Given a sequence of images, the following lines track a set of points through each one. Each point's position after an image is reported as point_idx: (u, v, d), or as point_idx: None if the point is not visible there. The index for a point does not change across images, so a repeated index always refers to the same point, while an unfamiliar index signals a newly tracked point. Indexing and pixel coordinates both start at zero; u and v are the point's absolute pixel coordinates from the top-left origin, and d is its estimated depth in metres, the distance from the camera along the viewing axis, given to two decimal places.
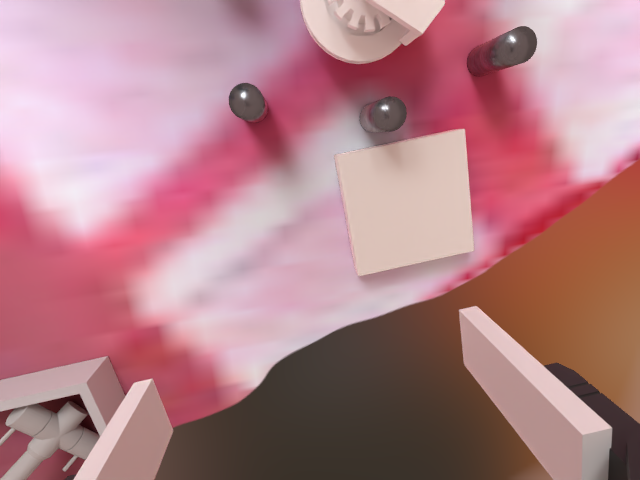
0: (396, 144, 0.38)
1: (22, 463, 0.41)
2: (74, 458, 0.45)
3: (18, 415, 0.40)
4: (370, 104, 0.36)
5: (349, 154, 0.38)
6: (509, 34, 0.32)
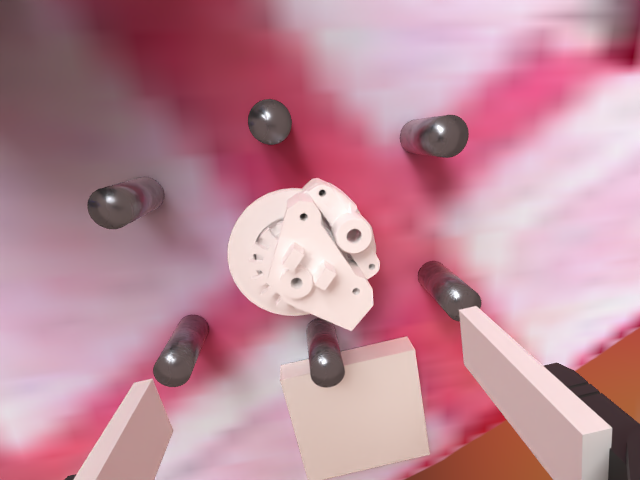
0: None
1: None
2: None
3: None
4: (313, 334, 0.35)
5: (293, 378, 0.36)
6: (451, 296, 0.30)
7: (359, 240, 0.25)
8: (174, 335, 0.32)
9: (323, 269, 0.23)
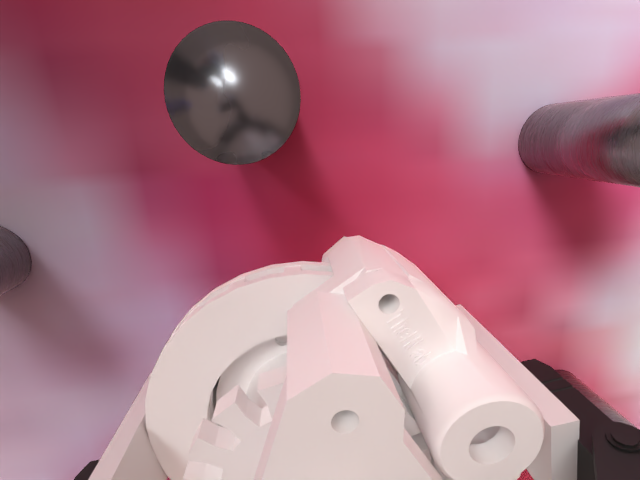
0: None
1: None
2: None
3: None
4: None
5: None
6: None
7: (501, 449, 0.09)
8: None
9: None
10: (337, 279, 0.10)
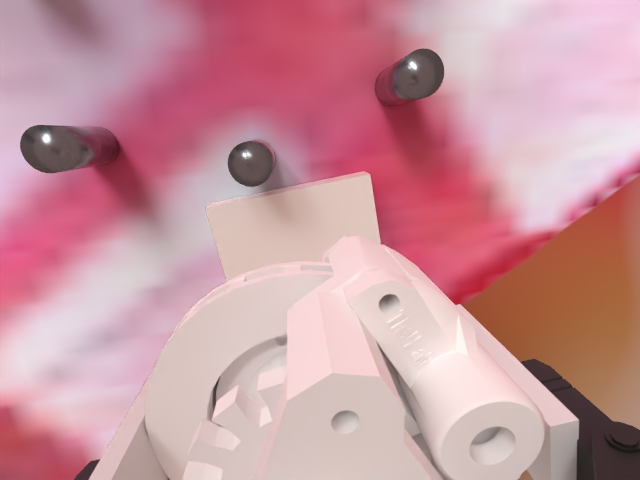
0: (282, 193, 0.30)
1: None
2: None
3: None
4: None
5: (221, 206, 0.30)
6: (405, 59, 0.23)
7: (502, 450, 0.09)
8: None
9: None
10: (337, 279, 0.10)
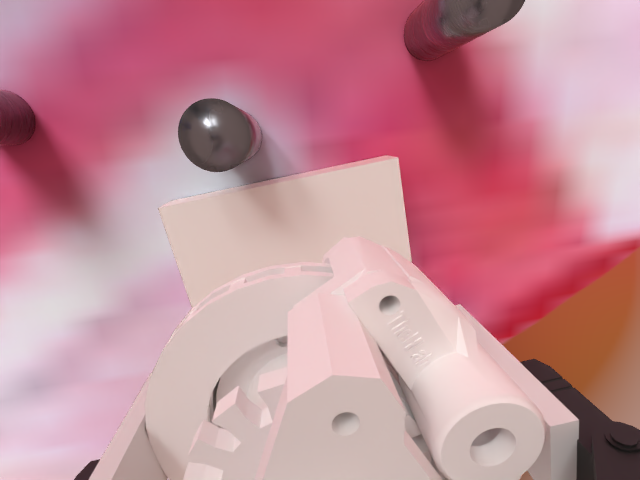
0: (270, 186, 0.20)
1: None
2: None
3: None
4: None
5: (182, 205, 0.20)
6: None
7: (502, 451, 0.09)
8: None
9: None
10: (338, 280, 0.10)
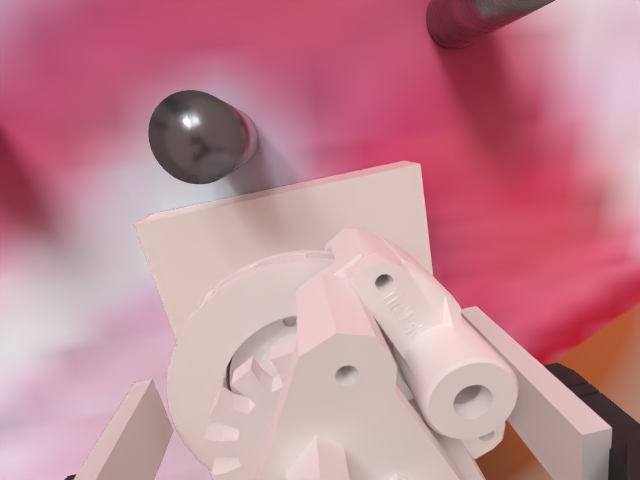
0: (268, 198, 0.17)
1: None
2: None
3: None
4: None
5: (163, 221, 0.17)
6: None
7: (481, 407, 0.10)
8: None
9: None
10: (339, 263, 0.12)
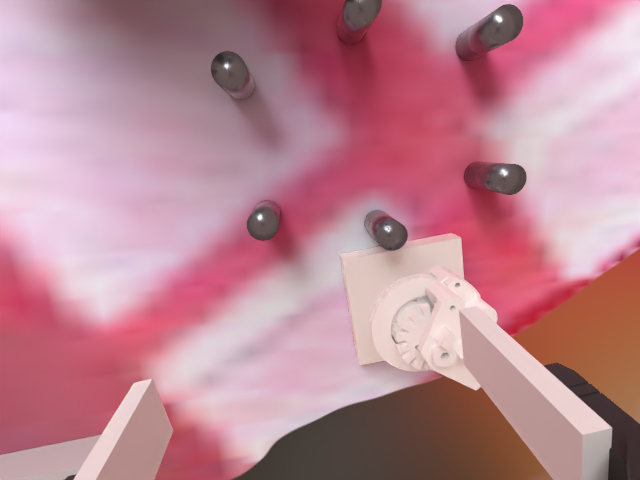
0: (397, 250, 0.41)
1: None
2: None
3: None
4: (374, 216, 0.40)
5: (354, 259, 0.41)
6: (501, 170, 0.35)
7: None
8: (258, 206, 0.38)
9: None
10: (440, 279, 0.36)
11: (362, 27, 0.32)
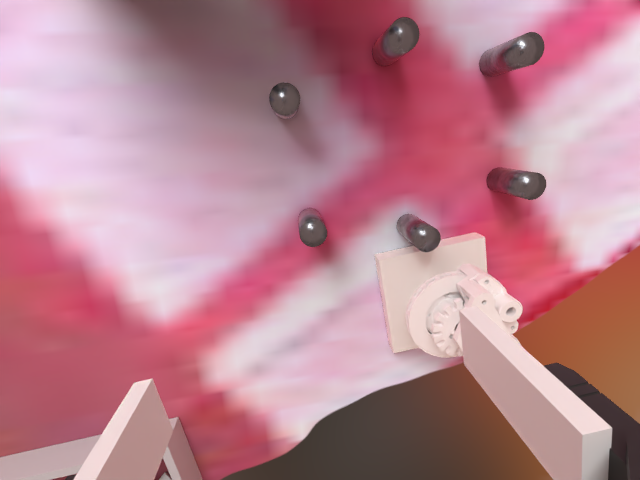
0: None
1: None
2: None
3: None
4: (407, 220, 0.44)
5: (389, 258, 0.46)
6: (524, 178, 0.39)
7: (513, 313, 0.38)
8: (305, 215, 0.42)
9: None
10: (470, 276, 0.40)
11: (400, 55, 0.36)
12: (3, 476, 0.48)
